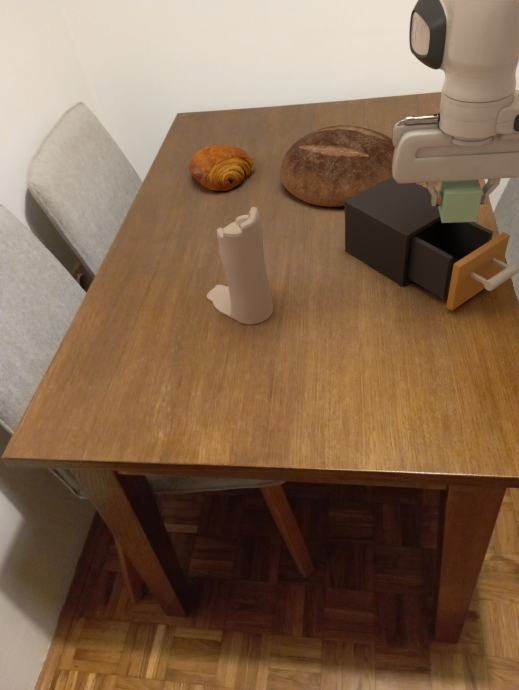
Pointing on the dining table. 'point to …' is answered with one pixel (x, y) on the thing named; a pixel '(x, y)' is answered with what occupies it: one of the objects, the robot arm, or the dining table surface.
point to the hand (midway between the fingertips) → (458, 203)
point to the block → (460, 201)
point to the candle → (243, 272)
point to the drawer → (458, 260)
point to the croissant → (220, 166)
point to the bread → (336, 164)
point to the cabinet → (387, 225)
